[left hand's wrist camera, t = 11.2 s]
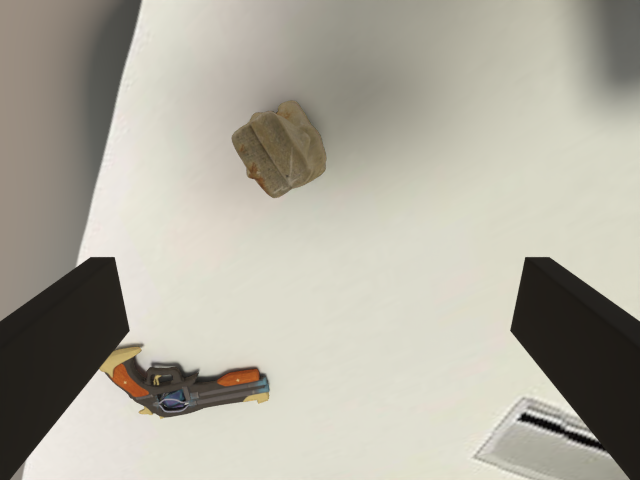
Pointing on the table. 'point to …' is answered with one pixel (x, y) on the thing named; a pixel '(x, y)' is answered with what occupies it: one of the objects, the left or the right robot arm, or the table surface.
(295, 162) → the sculpture
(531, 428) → the table surface
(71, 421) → the table surface
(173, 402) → the toy gun
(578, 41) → the table surface
